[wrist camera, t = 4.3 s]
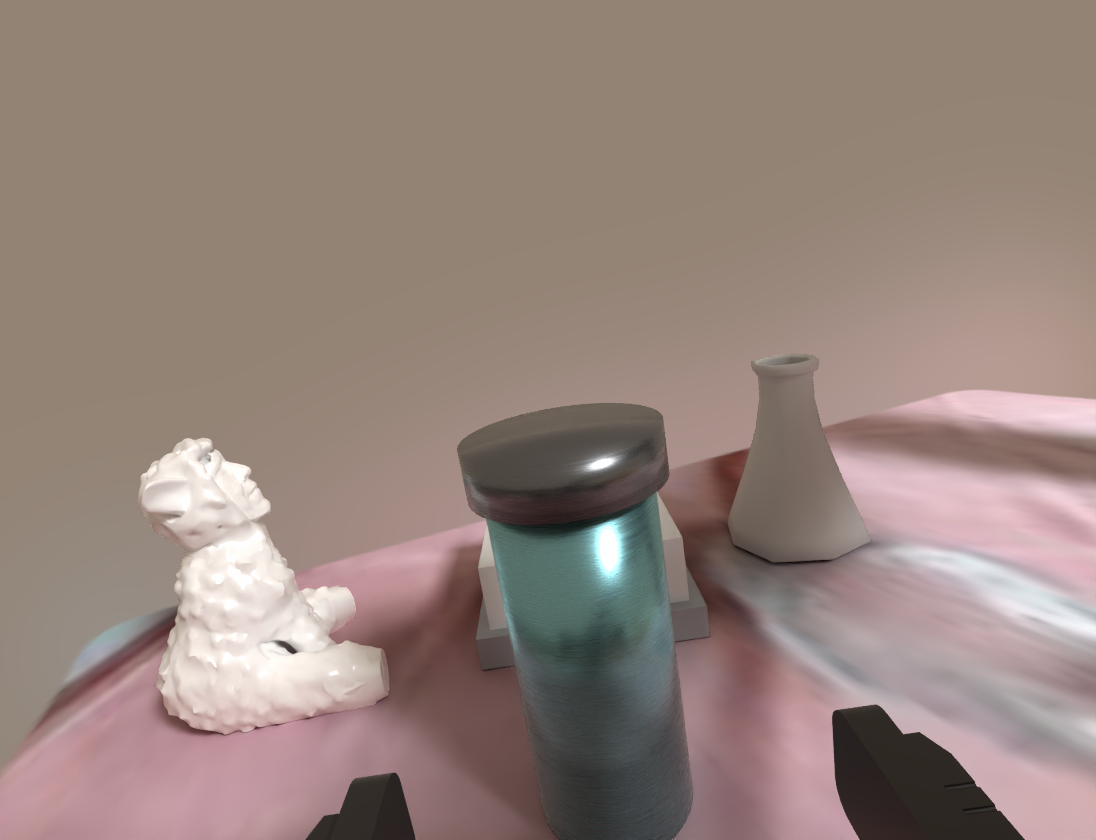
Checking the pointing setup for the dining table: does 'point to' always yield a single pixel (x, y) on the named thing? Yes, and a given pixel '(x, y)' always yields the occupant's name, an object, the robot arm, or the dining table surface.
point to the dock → (681, 586)
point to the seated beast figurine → (246, 608)
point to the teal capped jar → (588, 612)
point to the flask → (792, 474)
